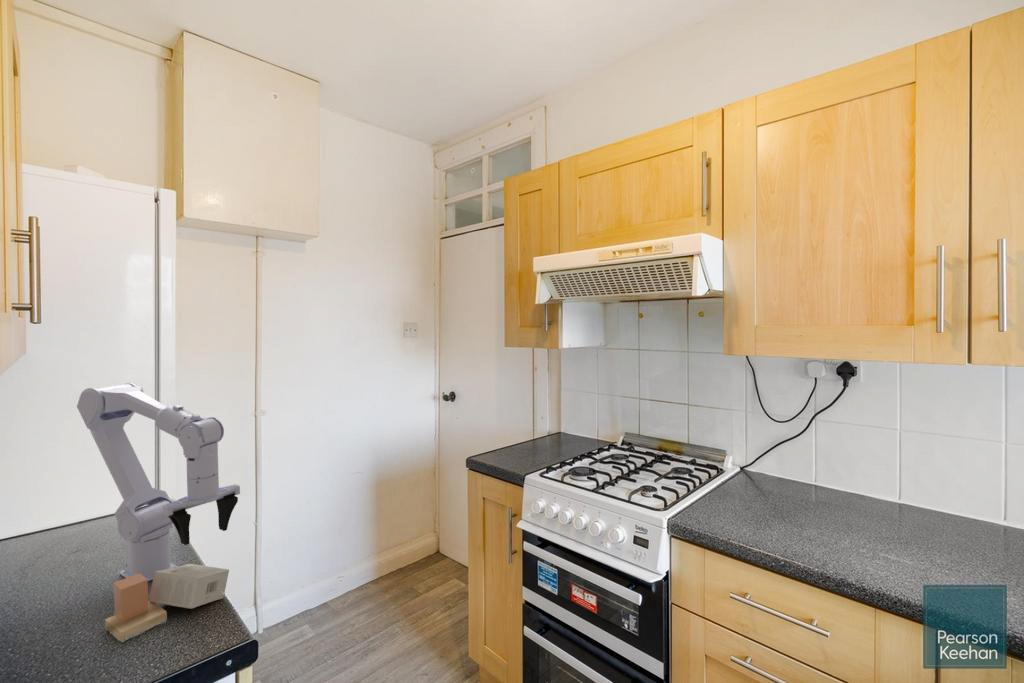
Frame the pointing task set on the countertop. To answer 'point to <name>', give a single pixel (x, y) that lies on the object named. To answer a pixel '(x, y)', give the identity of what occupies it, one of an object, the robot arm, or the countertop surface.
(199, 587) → the small box
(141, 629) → the base slab
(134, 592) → the block
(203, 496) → the robot arm
